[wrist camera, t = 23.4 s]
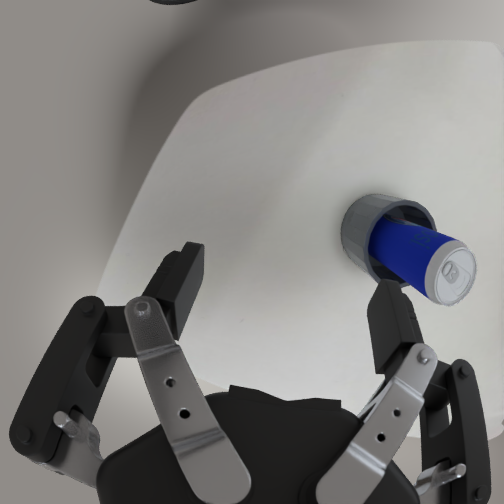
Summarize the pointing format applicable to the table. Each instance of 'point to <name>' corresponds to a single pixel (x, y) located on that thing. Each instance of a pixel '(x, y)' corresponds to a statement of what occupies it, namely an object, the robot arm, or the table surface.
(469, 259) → the beverage can
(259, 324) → the table surface
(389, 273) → the grey pen holder cup
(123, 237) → the table surface
